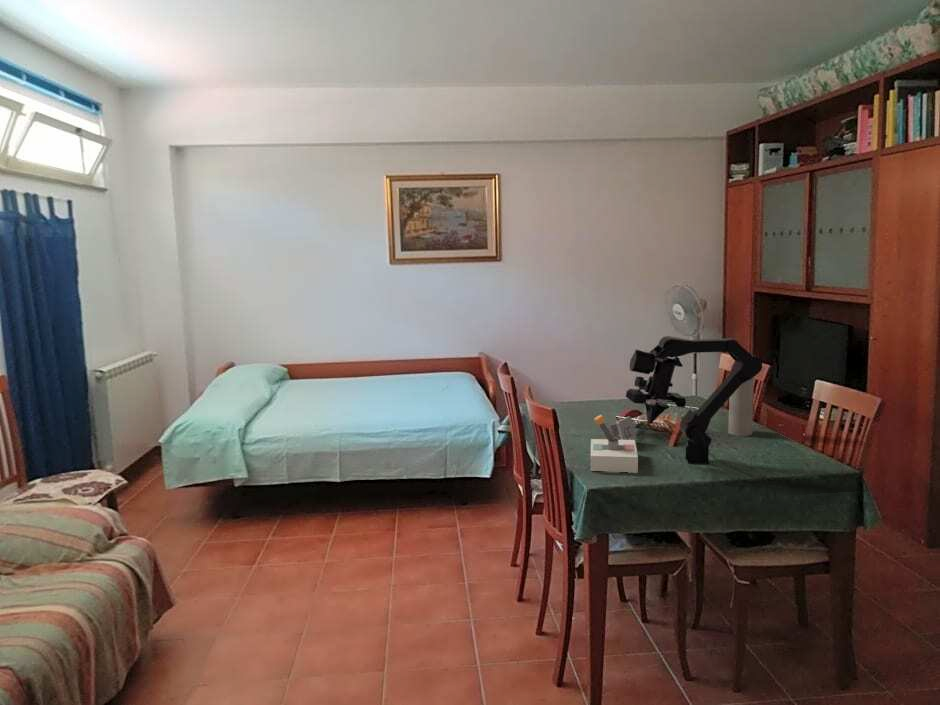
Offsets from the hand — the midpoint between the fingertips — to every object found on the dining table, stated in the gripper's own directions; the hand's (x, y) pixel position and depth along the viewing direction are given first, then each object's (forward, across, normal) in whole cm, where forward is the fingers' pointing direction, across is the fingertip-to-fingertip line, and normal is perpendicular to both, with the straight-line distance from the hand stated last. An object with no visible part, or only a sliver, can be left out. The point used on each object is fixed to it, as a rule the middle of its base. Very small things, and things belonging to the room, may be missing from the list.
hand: (649, 423), depth 224 cm
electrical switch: (+15, -4, -16) cm, 22 cm away
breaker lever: (+8, +10, -1) cm, 13 cm away
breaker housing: (+14, +9, 0) cm, 17 cm away
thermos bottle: (+6, -47, -13) cm, 49 cm away
